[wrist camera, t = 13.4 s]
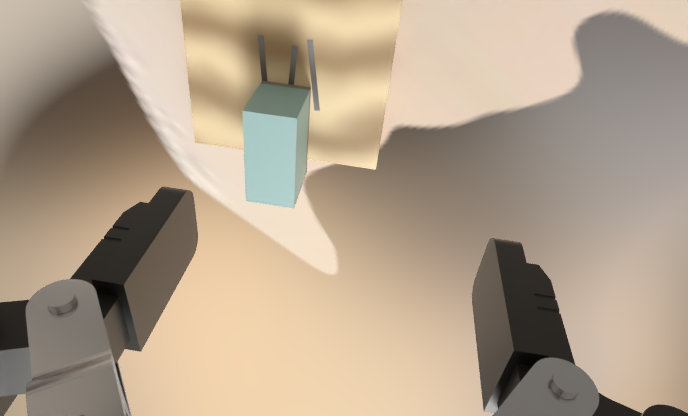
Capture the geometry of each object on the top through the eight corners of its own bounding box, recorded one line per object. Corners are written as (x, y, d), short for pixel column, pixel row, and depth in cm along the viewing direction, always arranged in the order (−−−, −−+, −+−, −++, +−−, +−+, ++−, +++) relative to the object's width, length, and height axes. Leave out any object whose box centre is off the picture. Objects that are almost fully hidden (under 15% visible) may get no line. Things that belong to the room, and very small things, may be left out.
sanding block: (262, 80, 44) (242, 110, 39) (311, 87, 44) (297, 118, 39) (263, 165, 49) (246, 200, 45) (306, 172, 49) (293, 208, 44)
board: (176, -127, 37) (167, -125, 35) (417, -97, 36) (417, -94, 34) (200, 134, 50) (194, 142, 49) (376, 160, 49) (375, 169, 48)
